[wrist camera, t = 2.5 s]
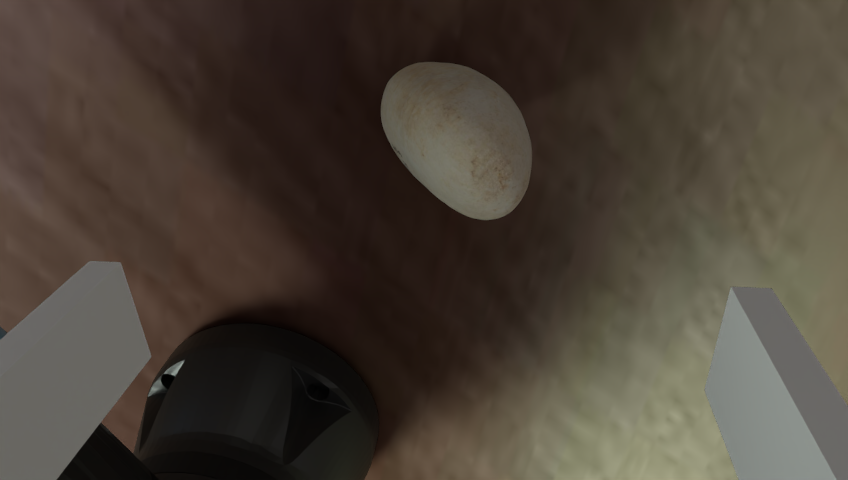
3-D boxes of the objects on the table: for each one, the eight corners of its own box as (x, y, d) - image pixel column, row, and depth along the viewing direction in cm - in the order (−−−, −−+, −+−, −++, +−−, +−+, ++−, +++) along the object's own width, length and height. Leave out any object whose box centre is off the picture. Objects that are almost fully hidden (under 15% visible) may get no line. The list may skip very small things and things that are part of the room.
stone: (373, 74, 30) (303, 169, 20) (484, -1, 28) (471, 62, 17) (438, 168, 32) (405, 299, 22) (546, 105, 30) (567, 219, 19)
